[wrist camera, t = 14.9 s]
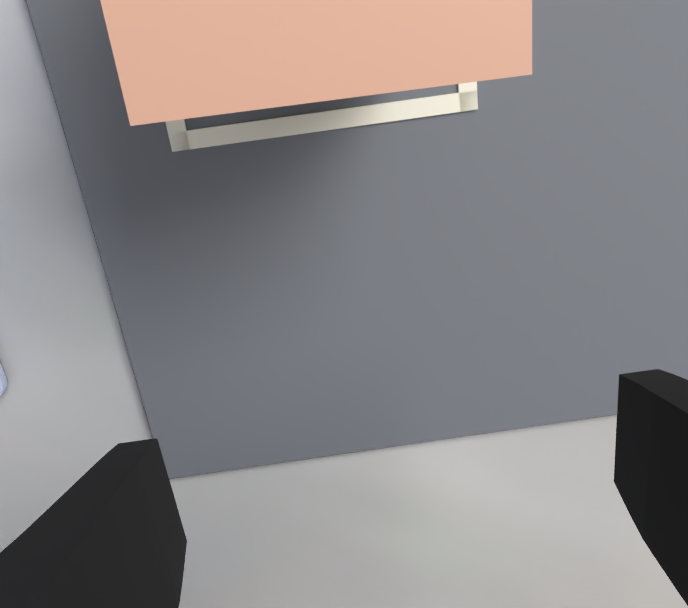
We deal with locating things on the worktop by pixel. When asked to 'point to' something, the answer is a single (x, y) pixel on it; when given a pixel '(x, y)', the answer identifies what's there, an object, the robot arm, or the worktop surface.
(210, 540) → the worktop surface
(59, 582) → the robot arm
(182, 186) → the build mat
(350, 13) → the terracotta block
